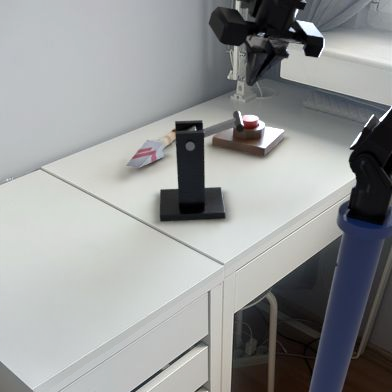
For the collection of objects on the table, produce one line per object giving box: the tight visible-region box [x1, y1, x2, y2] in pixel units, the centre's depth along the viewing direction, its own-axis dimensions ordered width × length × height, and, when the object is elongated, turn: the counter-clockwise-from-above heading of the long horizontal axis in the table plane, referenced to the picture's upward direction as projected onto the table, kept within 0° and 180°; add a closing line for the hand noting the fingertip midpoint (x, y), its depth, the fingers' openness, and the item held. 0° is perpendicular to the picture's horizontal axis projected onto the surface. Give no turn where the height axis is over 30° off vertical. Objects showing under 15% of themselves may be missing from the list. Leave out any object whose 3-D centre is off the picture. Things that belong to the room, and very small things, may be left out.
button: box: [241, 114, 259, 129], centre depth 104 cm, size 4×4×2 cm
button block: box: [211, 119, 285, 157], centre depth 106 cm, size 12×10×4 cm
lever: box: [181, 110, 244, 139], centre depth 79 cm, size 10×6×2 cm, turn 92°
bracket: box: [159, 119, 226, 222], centre depth 83 cm, size 11×9×14 cm
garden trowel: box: [125, 127, 176, 169], centre depth 103 cm, size 4×3×20 cm
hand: (248, 84), depth 86 cm, fingers closed
